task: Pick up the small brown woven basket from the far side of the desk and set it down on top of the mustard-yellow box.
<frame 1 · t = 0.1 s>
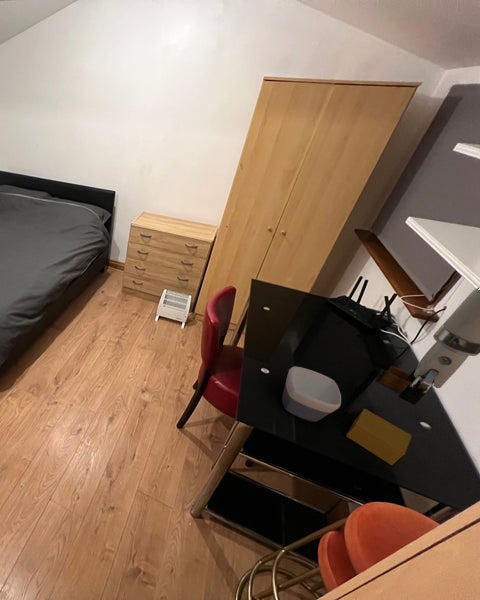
hand: (410, 391, 81), 29 cm above the table, tool pointing down, fingers open, 9 cm apart
bowl: (299, 406, 112), on the table
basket: (395, 385, 124), on the table
box: (372, 441, 102), on the table
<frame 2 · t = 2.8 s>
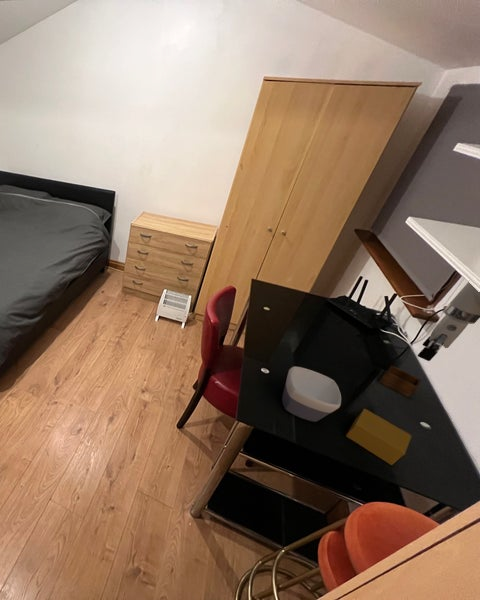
hand: (425, 352, 111), 19 cm above the table, tool pointing down, fingers open, 9 cm apart
nothing on the table moved.
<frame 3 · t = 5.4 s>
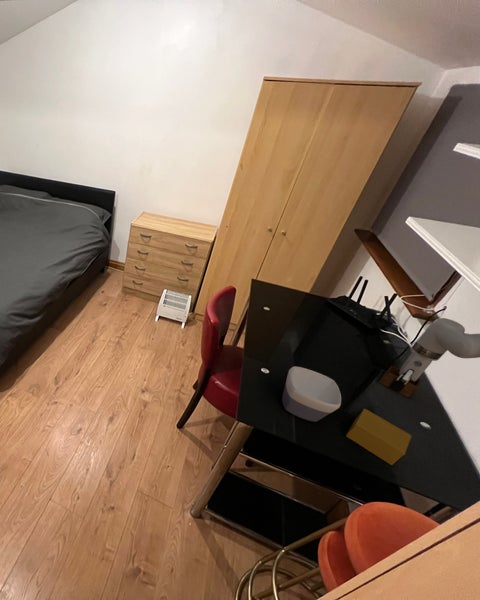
hand: (396, 384, 123), 1 cm above the table, tool pointing down, fingers closed on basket, 6 cm apart
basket: (395, 385, 124), on the table, touching gripper
everything else where it was.
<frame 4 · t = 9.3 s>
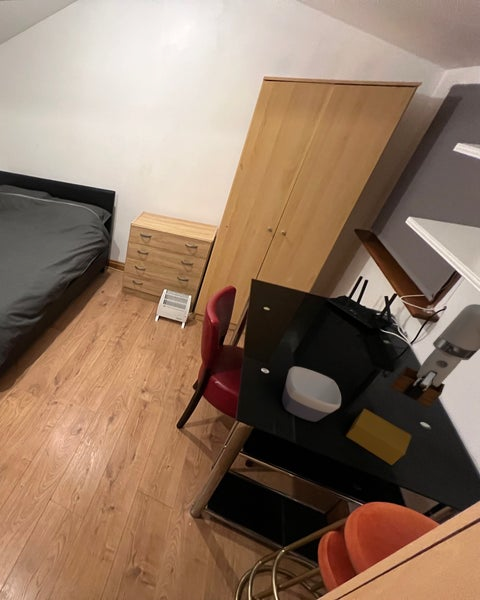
hand: (412, 390, 97), 18 cm above the table, tool pointing down, fingers closed on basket, 6 cm apart
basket: (411, 392, 98), point 17 cm above the table, touching gripper
everything else where it was.
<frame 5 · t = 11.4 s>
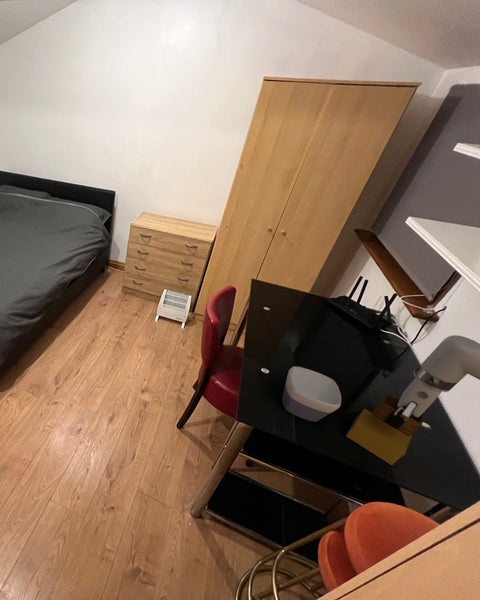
hand: (393, 418, 96), 11 cm above the table, tool pointing down, fingers closed on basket, 6 cm apart
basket: (392, 419, 96), point 11 cm above the table, touching gripper
everything else where it was.
when the fingers open (7 cm above the table, at t = 13.2 s): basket stays where it is, resting on box.
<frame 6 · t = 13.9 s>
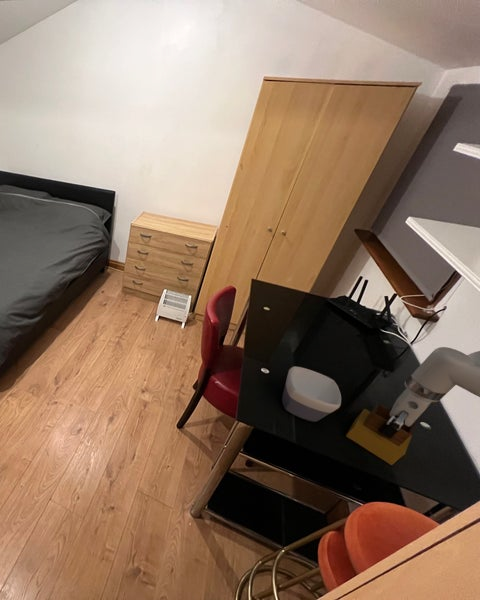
hand: (387, 425, 97), 8 cm above the table, tool pointing down, fingers open, 9 cm apart
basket: (382, 429, 99), point 6 cm above the table, touching box
everything else where it was.
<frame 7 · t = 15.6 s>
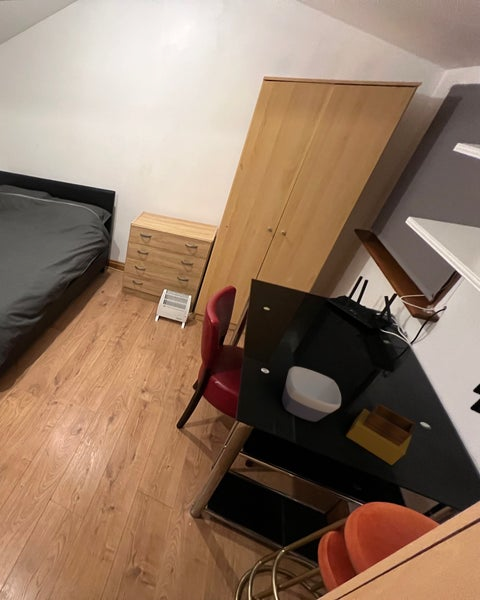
hand: (479, 403, 86), 24 cm above the table, tool pointing down, fingers open, 9 cm apart
nothing on the table moved.
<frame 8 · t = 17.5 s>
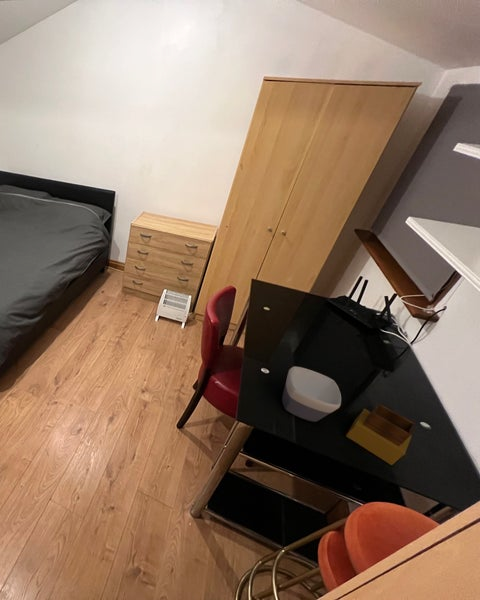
nothing on the table moved.
at the end: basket inside the target area on the box (0.1 cm from its centre), point 6.0 cm above the box's base; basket tilted 0°; the gripper is holding nothing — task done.
